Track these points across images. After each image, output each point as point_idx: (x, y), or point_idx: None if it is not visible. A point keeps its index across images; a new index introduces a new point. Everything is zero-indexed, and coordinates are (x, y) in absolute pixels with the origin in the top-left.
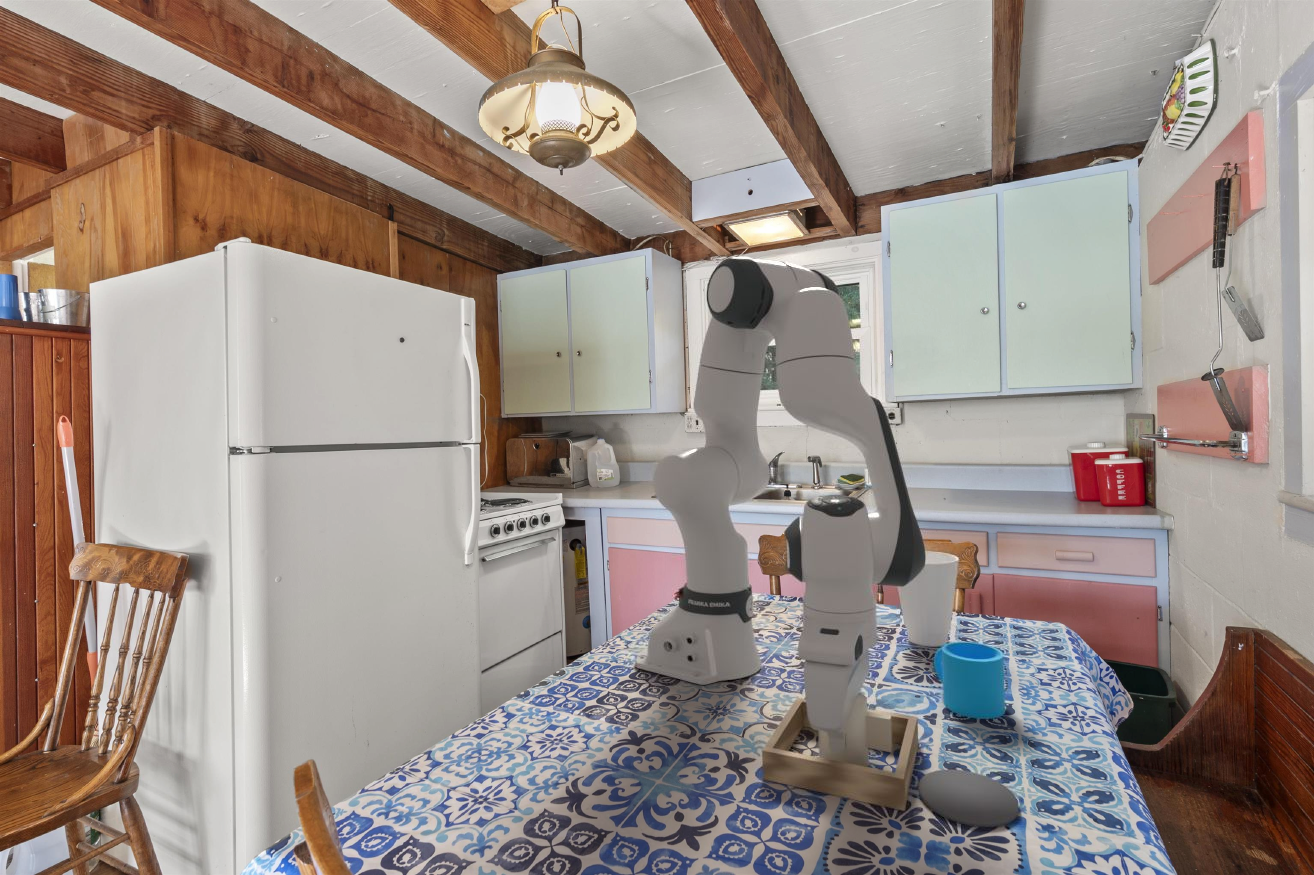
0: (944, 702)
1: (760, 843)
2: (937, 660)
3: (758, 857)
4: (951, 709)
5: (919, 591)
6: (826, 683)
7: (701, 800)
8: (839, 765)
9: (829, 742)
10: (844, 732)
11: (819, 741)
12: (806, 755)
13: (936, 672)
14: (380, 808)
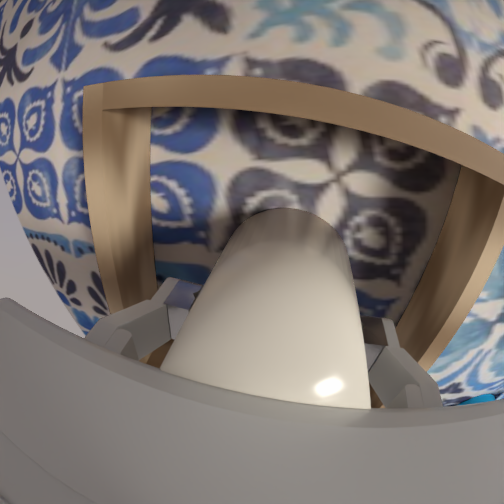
0: (478, 399)
1: (15, 155)
2: None
3: (4, 162)
4: (461, 404)
5: None
6: None
7: (55, 25)
8: (107, 293)
9: (160, 288)
10: (153, 349)
11: (254, 236)
12: (106, 217)
13: None
14: None
